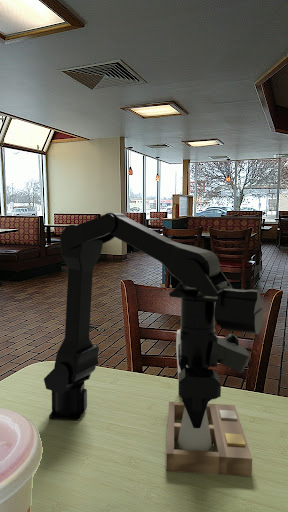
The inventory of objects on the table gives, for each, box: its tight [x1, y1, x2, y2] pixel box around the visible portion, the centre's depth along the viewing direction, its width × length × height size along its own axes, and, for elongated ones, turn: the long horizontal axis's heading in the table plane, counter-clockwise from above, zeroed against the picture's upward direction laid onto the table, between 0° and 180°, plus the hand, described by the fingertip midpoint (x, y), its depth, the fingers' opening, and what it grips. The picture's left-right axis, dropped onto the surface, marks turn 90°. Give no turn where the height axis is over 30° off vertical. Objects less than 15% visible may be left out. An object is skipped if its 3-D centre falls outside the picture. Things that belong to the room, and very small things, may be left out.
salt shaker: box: [177, 407, 212, 452], centre depth 65 cm, size 6×6×13 cm
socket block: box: [165, 401, 253, 478], centre depth 69 cm, size 14×18×3 cm
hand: (195, 413), depth 65 cm, fingers open, 9 cm apart
